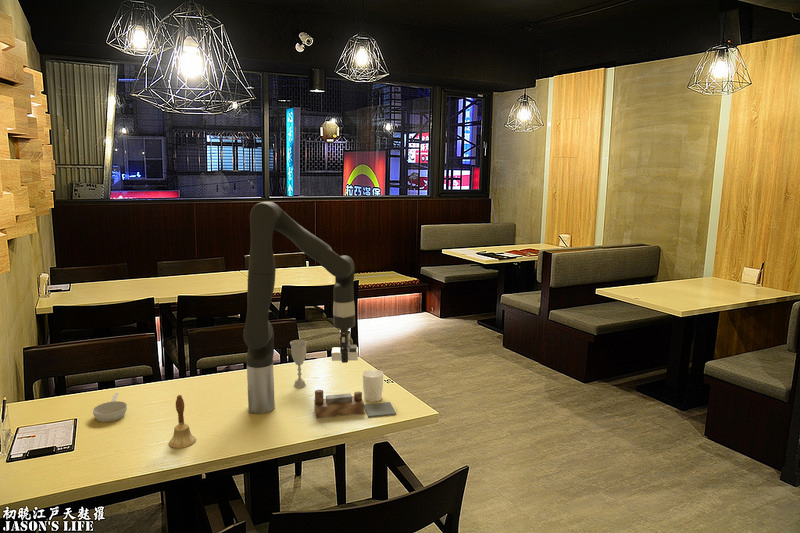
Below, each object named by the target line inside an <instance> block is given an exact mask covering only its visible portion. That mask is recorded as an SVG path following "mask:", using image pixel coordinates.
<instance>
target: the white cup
mask: <svg viewBox="0 0 800 533" xmlns="http://www.w3.org/2000/svg"><path fill="white" fill-rule="evenodd" d="M361 375H362V388H363V398H364V400H365V401H367V402H380V401H381V400H383V399H382V398H383V390H384V389H383V388H384V387H383V386H384V371H382V370H379V369H367V370H364V371H363V372H362V374H361Z"/></svg>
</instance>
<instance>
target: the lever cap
mask: <svg viewBox="0 0 800 533" xmlns="http://www.w3.org/2000/svg"><path fill="white" fill-rule="evenodd" d="M331 349H332V350H331V361H332V362H339V361H340V362H342V359H341V353H340V347H332V348H331ZM342 349H346V347H342ZM358 360H359V347H358V346H357V344H350V345H349V347H348V362H350V361H358Z"/></svg>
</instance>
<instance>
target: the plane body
mask: <svg viewBox="0 0 800 533" xmlns="http://www.w3.org/2000/svg"><path fill="white" fill-rule="evenodd" d="M313 403H314V404H313V406H314V407H313V408H314V415H315V418H316V419H322V418H323V419H325V418H331V417H344V416H355V415H364V414H365V408H364V404H365V403H364V400H363V392H362V391H354V394H353V395H352V394H351V393H350V392H349V393H340V394H331V395H330V394H329V395H325V398H324V390H323V389H316V390H314V400H313Z"/></svg>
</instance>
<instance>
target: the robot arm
mask: <svg viewBox="0 0 800 533" xmlns="http://www.w3.org/2000/svg"><path fill="white" fill-rule="evenodd" d="M249 228H250V249H249V258H248V268H247V269H248V271H247V290H246V291H247V293H246V296H247V298H246V299H247V300H246V301H247V302H246V303H247V311H246V317H245V318H246V319H245V323H244V329H243V336H242V337H243V340H244V343H245V345H246V346H247V354H246V374H247V375H246V377H247V379H246V380H247V403H248V404H247V405H248V414H257V415H259V414H266V413H269V412H272V411H273V410H275V408H276V406H275V405H276V404H275V403H276V400H275V382H274V380H275V379H274V375H275V374H274V355H275V353H274V352H275V348H274V347H275V345H274V344H275V342H274V341H275V334H274V328H273V325H272V324H271V322H270V321H269V311H270V307H271V306H270V305H271V302H272V298H273V295H274V289H275V285H276V260H275V256H274V251H273V236H274V235H273V234H274V231H276V232H279V233H280V234H282V235H283V236H285V237H286V238H287V239H289V240H290V241H291V242H292V243H293V244H294V245H295V246H296V247H297V248H298V250H299V251H301V252H302V253H304V254H305V255H307V257H309V258H311V259H312V260H314V261H315V262H317V263H319V264H320V265H321V267H322V268H324V269H325V271H327V272H328V273H329V274H331V275H332V276H334V279H335V280H334V285H333V290H332V291H333V294H332V295H333V304H332V305H333V306H332V314H333V327H334V328H336V329H340V330H338V331H339V332H338V338H339V339H338V340H339V342H338V344H339V346H340V353H341V359H342V361H341V363H348V362H349V361H348V347H350V345H351V344H350V341H351V335H352V334H351V332H352V331H351V330H350V329H351V328H354V327H355V326H356V309H355V308H356V305H355V294H354V290H355V289H354V283H355V272H356V270H355V262H354V260H353V259H352V257H351V256H349V255H344V254H343V255H339V254H338V253H336V252H335V251H334V250H333V248H332V246H330V244H328V243H327V242H325V241H323V240H322V239H321V238H319V237H317V236H316V235H315V234H313V233H311V232H310V231H309V230H307V229H306V228H304V227H303V226H302V225H301V224H299V223H298V222H297V221H295V220H294V219H293V218H291V216H289V215H288V214H287V212H285V211H284V210H283V209H282V208H281V207H280V206H279V205H278V204H276V203H275V202H273V201H262V202H258V203H256V204H254V206H253V207H252V208H251V210H250V213H249ZM342 347H346V349H342Z"/></svg>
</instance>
